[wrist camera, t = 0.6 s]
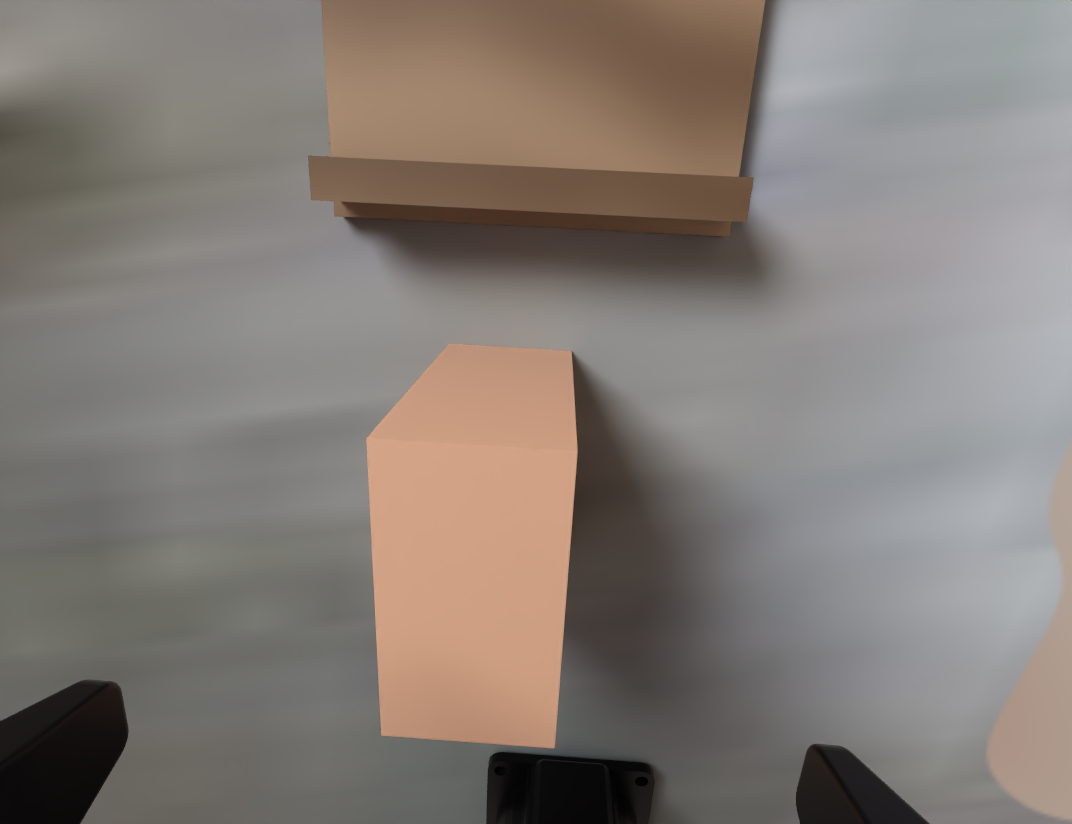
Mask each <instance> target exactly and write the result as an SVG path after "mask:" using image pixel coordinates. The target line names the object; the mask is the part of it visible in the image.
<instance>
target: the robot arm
mask: <svg viewBox="0 0 1072 824" xmlns="http://www.w3.org/2000/svg"><path fill="white" fill-rule="evenodd" d="M127 738H128V723H127V718H126V713H125V707H124V702H123V696H122V691H121V688H120V687H119V685H118V684H117V683H115V682H112V681H101V680H83V681H80V682H77V683H75V684H73V685H71V686H69V687H67V688H65V689H63V690H61V691H59V692H57V693H55V694H53V695H51V696H49V697H47V698H45V699H43V700H41V701H39V702H37V703H35V704H33V705H31V706H29V707H27V708H25V709H23V710H22V711H20V712H18V713H16V714H14V715H12V716H10V717H8V718H6V719H4V720H2V721H0V824H80V823H81V821H82V820H83V818H84V816H85V815H86V813H87V811H88V810H89V808H90V806H91V804H92V803H93V801H94V799H95V798H96V796H97V794H98V793H99V791H100V789H101V788H102V786H103V784H104V782H105V781H106V779H107V777H108V776H109V774H110V772H111V771H112V769H113V767H114V766H115V764H116V762H117V760H118V759H119V757H120V755H121V754H122V752H123V750H124V747H125V745H126V742H127ZM501 766H503V767H501ZM653 789H654V776H653V770H652V768H651V767H650V766H649V765H647V764H644V763H637V762H624V761H611V760H597V759H584V758H571V757H558V756H544V755H531V754H518V753H505V752H499V753H495V754H493V755H492V756H491V757H490V760H489V766H488V785H487V820H486V824H648V821H649V814H650V808H651V801H652V795H653ZM796 806H797V812H798V816H799V820H800V824H929V823H928V822H927V821H926V820H925V819H924V818H923V817H922V816H921V815H920V814H918V813H917V812H916V811H915V810H914V809H913V808H912V807H911V806H910V805H909V804H907V803H906V802H905V801H904V800H903V799H902V798H901V797H900V796H899V795H898V794H896V793H895V792H894V791H893V790H892V789H891V788H890V787H889V786H888V785H887V784H885V783H884V782H883V781H882V780H881V779H880V778H879V777H878V776H877V775H876V774H875V773H873V772H872V771H871V770H870V769H869V768H868V767H867V766H866V765H865V764H864V763H862V762H861V761H860V760H859V759H858V758H857V757H856V756H855V755H854V754H853V753H851V752H850V751H849V750H847V749H846V748H844V747H841V746H835V745H824V744H813V745H811V746H810V747H809V748H808V750H807V753H806V756H805V760H804V764H803V768H802V771H801V775H800V779H799V783H798V787H797V792H796Z"/></svg>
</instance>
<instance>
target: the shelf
mask: <svg viewBox="0 0 1072 824" xmlns="http://www.w3.org/2000/svg"><path fill="white" fill-rule="evenodd" d="M321 3H322V20H323V36H324V52H325V69H326V85H327V101H328V118H329V134H330V150H331V157H324V156H308V162H309V175H310V189H311V200H320V201H334V216H339V217H358V218H377V219H397V220H416V221H435V222H455V223H474V224H493V225H513V226H532V227H551V228H571V229H590V230H610V231H629V232H648V233H668V234H687V235H706V236H726V237H730V232H731V226H732V222H747V216H748V210H749V204H750V197H751V191H752V185H753V177H739V173H740V166H741V159H742V153H743V146H744V139H745V133H746V126H747V119H748V113H749V106H750V99H751V93H752V86H753V79H754V73H755V66H756V59H757V53H758V46H759V39H760V33H761V26H762V19H763V13H764V6H765V0H321Z"/></svg>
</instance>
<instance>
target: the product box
mask: <svg viewBox="0 0 1072 824" xmlns="http://www.w3.org/2000/svg"><path fill="white" fill-rule="evenodd" d="M366 439H367V459H368V479H369V499H370V519H371V539H372V558H373V578H374V598H375V618H376V638H377V658H378V678H379V698H380V718H381V735H383V736H396V737H410V738H423V739H436V740H449V741H463V742H476V743H489V744H502V745H516V746H529V747H542V748H555V737H556V724H557V711H558V698H559V685H560V672H561V659H562V646H563V633H564V620H565V608H566V595H567V582H568V569H569V556H570V543H571V530H572V517H573V504H574V491H575V478H576V465H577V452H578V450H577V433H576V416H575V399H574V382H573V365H572V351H564V350H547V349H530V348H512V347H495V346H477V345H460V344H448V346H447V347H446V348H445V349H444V350H443V351H442V352H441V354H440V355H439V356H438V357H437V358H436V359H435V360H434V362H433V363H432V364H431V365H430V366H429V367H428V368H427V370H426V371H425V372H424V373H423V374H422V375H421V376H420V378H419V379H418V380H417V381H416V382H415V383H414V384H413V386H412V387H411V388H410V389H409V390H408V391H407V392H406V394H405V395H404V396H403V397H402V398H401V399H400V400H399V402H398V403H397V404H396V405H395V406H394V407H393V409H392V410H391V411H390V412H389V413H388V414H387V415H386V417H385V418H384V419H383V420H382V421H381V422H380V423H379V425H378V426H377V427H376V428H375V429H374V430H373V431H372V433H371V434H370V435H369V436H368V437H367V438H366Z"/></svg>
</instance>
